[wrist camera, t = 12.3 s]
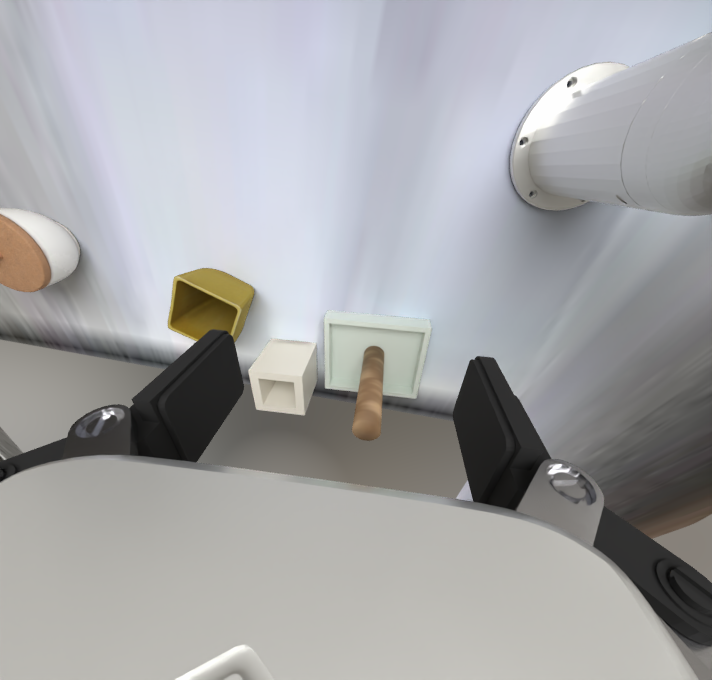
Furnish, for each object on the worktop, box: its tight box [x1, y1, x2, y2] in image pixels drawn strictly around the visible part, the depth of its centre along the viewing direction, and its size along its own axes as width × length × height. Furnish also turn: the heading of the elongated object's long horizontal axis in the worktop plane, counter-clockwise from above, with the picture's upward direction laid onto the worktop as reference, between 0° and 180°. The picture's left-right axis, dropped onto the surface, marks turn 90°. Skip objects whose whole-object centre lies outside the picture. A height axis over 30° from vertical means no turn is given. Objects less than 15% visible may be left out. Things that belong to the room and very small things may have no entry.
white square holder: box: [248, 339, 318, 415], centre depth 46 cm, size 8×8×9 cm
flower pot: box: [168, 268, 254, 343], centre depth 40 cm, size 9×9×9 cm
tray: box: [324, 310, 432, 399], centre depth 46 cm, size 16×14×3 cm
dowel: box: [352, 346, 384, 441], centre depth 39 cm, size 3×3×16 cm
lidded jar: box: [0, 208, 81, 292], centre depth 39 cm, size 11×11×9 cm
